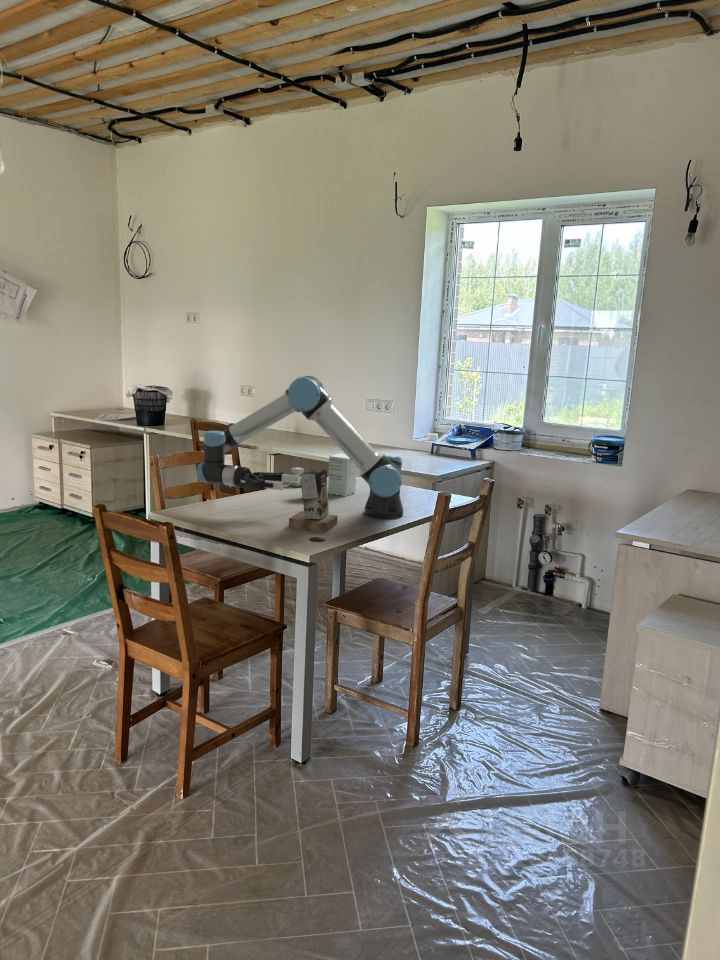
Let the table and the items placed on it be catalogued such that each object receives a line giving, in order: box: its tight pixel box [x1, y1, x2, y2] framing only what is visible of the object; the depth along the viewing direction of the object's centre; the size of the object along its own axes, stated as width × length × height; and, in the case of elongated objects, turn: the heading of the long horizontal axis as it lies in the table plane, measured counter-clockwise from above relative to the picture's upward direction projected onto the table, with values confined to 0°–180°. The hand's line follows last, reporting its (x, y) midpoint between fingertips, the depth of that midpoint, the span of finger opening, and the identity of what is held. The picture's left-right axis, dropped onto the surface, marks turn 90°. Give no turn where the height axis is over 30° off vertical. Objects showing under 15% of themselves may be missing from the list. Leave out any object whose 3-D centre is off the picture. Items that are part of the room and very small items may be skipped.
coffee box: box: [301, 469, 330, 519], centre depth 237 cm, size 9×6×16 cm
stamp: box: [288, 466, 305, 487], centre depth 304 cm, size 9×7×8 cm
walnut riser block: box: [288, 510, 338, 533], centre depth 239 cm, size 14×12×4 cm
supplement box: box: [327, 453, 358, 497], centre depth 293 cm, size 10×9×17 cm
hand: (290, 482), depth 239 cm, fingers open, 13 cm apart
